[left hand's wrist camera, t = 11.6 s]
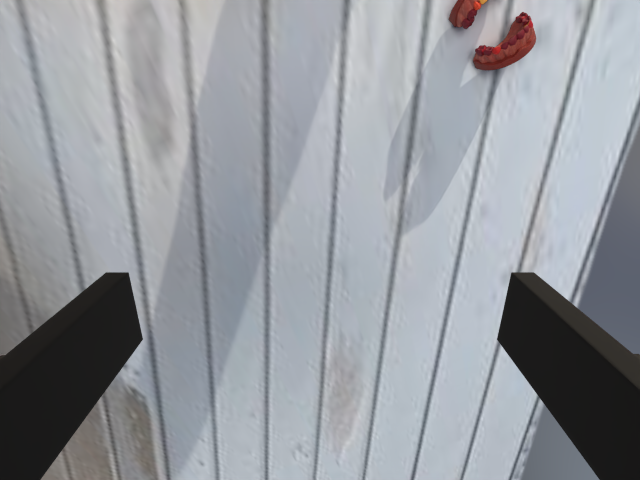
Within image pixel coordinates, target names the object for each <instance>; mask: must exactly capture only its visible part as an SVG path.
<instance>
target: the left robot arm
mask: <svg viewBox="0 0 640 480" xmlns="http://www.w3.org/2000/svg"><path fill="white" fill-rule="evenodd" d="M142 340H143V338H142V333H141V329H140V324H139V319H138V315H137V310H136V305H135V301H134V296H133V291H132V287H131V282H130V277H129V273H105V274H104V275H103V276H101V277H100V278H99V279H98V280H96V281H95V282H94V283H93V284H92V285H90V286H89V287H88V288H87V289H85V290H84V291H83V292H82V293H81V294H79V295H78V296H77V297H76V298H75V299H73V300H72V301H71V302H70V303H68V304H67V305H66V306H65V307H64V308H62V309H61V310H60V311H59V312H57V313H56V314H55V315H54V316H53V317H51V318H50V319H49V320H48V321H46V322H45V323H44V324H43V325H42V326H40V327H39V328H38V329H37V330H36V331H34V332H33V333H32V334H31V335H29V336H28V337H27V338H26V339H25V340H23V341H22V342H21V343H20V344H18V345H17V346H16V347H15V348H14V349H12V350H11V351H10V352H9V353H7V354H6V355H2V356H0V480H40V479H41V478H42V477H43V475H44V474H45V473H46V471H47V470H48V468H49V467H50V466H51V464H52V463H53V462H54V460H55V459H56V457H57V456H58V455H59V453H60V452H61V451H62V449H63V448H64V447H65V445H66V444H67V442H68V441H69V440H70V438H71V437H72V436H73V434H74V433H75V431H76V430H77V429H78V427H79V426H80V425H81V423H82V422H83V421H84V419H85V418H86V416H87V415H88V414H89V412H90V411H91V410H92V408H93V407H94V405H95V404H96V403H97V401H98V400H99V399H100V397H101V396H102V395H103V393H104V392H105V390H106V389H107V388H108V386H109V385H110V384H111V382H112V381H113V380H114V378H115V377H116V375H117V374H118V373H119V371H120V370H121V369H122V367H123V366H124V364H125V363H126V362H127V360H128V359H129V358H130V356H131V355H132V354H133V352H134V351H135V349H136V348H137V347H138V345H139V344H140V343H141V341H142ZM497 340H498V341H499V343H500V344H501V345H502V347H503V348H504V349H505V351H506V352H507V354H508V355H509V356H510V358H511V359H512V360H513V362H514V363H515V364H516V366H517V367H518V369H519V370H520V371H521V373H522V374H523V375H524V377H525V378H526V380H527V381H528V382H529V384H530V385H531V386H532V388H533V389H534V390H535V392H536V393H537V395H538V396H539V397H540V399H541V400H542V401H543V403H544V404H545V405H546V407H547V408H548V410H549V411H550V412H551V414H552V415H553V416H554V418H555V419H556V421H557V422H558V423H559V425H560V426H561V427H562V429H563V430H564V431H565V433H566V434H567V436H568V437H569V438H570V440H571V441H572V442H573V444H574V445H575V446H576V448H577V449H578V451H579V452H580V453H581V455H582V456H583V457H584V459H585V460H586V462H587V463H588V464H589V466H590V467H591V468H592V470H593V471H594V472H595V474H596V475H597V477H598V478H599V479H600V480H640V355H639V354H633V353H631V352H630V351H629V350H628V349H626V348H625V347H624V346H623V345H622V344H620V343H619V342H618V341H617V340H615V339H614V338H613V337H612V336H611V335H609V334H608V333H607V332H606V331H604V330H603V329H602V328H601V327H600V326H598V325H597V324H596V323H595V322H593V321H592V320H591V319H590V318H589V317H587V316H586V315H585V314H584V313H583V312H581V311H580V310H579V309H578V308H576V307H575V306H574V305H573V304H572V303H570V302H569V301H568V300H567V299H565V298H564V297H563V296H562V295H561V294H559V293H558V292H557V291H556V290H555V289H553V288H552V287H551V286H550V285H548V284H547V283H546V282H545V281H544V280H542V279H541V278H540V277H539V276H537V275H536V274H535V273H511V277H510V282H509V287H508V291H507V296H506V301H505V305H504V310H503V315H502V319H501V324H500V329H499V333H498V338H497Z"/></svg>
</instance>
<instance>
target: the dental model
mask: <svg viewBox="0 0 640 480" xmlns="http://www.w3.org/2000/svg"><path fill="white" fill-rule="evenodd" d="M486 1H487V0H458V1H457V2H456V4H455V6H454V7H453V9H452V11H451V14H450V17H449V20H450V21H451V23H452V24H453V25H454V26H455V27H456V26H457V27H462V26H463V28H464V29H467V28H468V27H469V26H471V25H472V23H473V21H474V15H475V16H476V14H477V10H478V9H480V8H481V4H484V3H485V2H486ZM479 2H480V3H479ZM535 42H536V35H535V31H534V28H533V23H532V21H531V18H530V16H528V15H527V13H524V12H522V13H521V14H520V15H519V16H517V17H516V20H515V21H514V22H513V24H512V25H511V29H510V31H509V33H508V35H507V37H506V38H505V39H504V41H503V42H502V43H500V44H499V45H498V46H496V47H495V48H494V47H486V46H485V45H483V46H479V48H477V49H475V52H476V54H475V57H474V59H473V62H474V64H475V67H476V68H477V69H480V70H496V69H499V68H503V67H506V66H508V65H511V64H513V63H515V62H516V61H518V60H520V59H521V58H523V57H524V56H525V55H526V54H527V53H529V51H530V50H531V49H532V48H533V46H534V45H535Z"/></svg>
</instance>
